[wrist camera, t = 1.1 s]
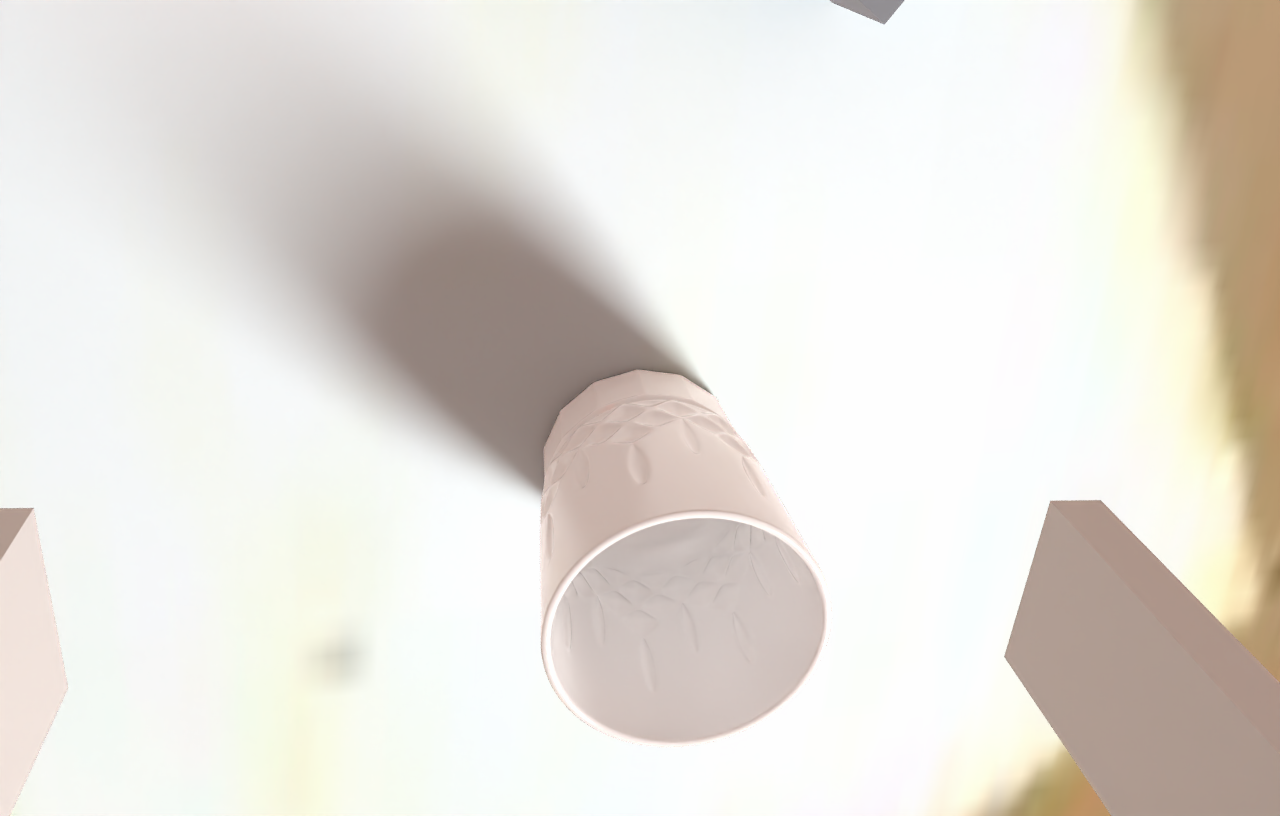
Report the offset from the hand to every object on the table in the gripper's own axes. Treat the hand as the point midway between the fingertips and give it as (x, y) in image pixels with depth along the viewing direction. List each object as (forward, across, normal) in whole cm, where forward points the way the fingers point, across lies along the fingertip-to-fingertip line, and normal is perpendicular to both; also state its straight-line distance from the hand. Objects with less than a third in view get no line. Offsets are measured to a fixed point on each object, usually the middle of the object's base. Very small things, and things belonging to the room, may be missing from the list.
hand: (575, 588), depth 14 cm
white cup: (+21, +5, -10) cm, 24 cm away
